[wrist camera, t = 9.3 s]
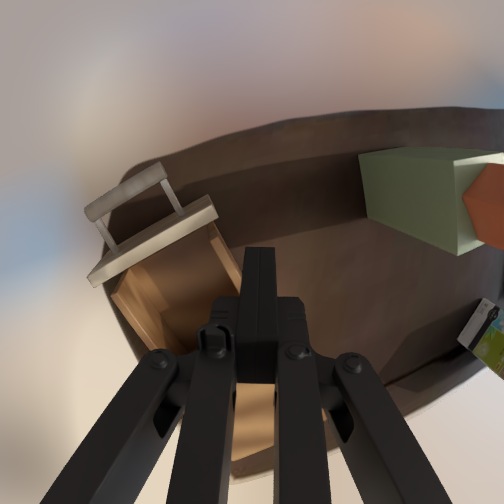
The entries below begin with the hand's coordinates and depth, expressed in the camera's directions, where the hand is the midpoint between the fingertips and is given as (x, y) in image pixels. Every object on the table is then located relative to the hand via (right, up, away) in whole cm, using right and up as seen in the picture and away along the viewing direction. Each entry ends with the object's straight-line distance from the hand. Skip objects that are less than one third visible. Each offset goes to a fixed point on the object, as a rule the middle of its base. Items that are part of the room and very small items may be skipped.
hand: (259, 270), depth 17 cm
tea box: (+46, -15, +33) cm, 59 cm away
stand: (+17, +10, +20) cm, 28 cm away
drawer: (-8, 0, +17) cm, 19 cm away
